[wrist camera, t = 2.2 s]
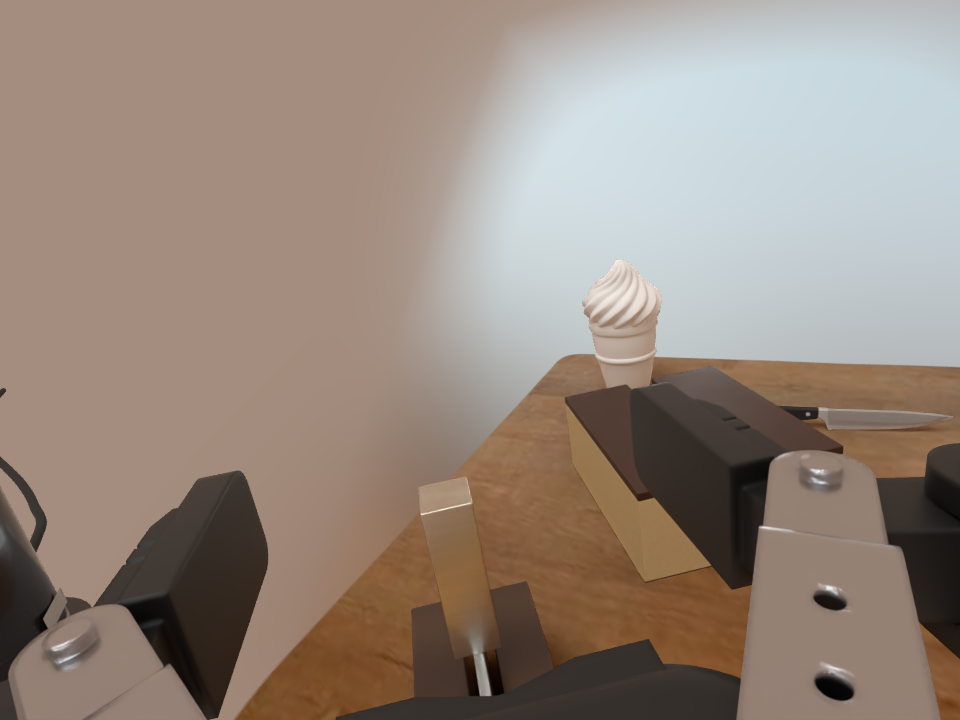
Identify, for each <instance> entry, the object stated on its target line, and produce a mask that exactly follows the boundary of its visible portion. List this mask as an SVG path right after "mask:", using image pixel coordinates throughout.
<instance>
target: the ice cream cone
mask: <svg viewBox="0 0 960 720" xmlns="http://www.w3.org/2000/svg"><path fill="white" fill-rule="evenodd" d="M582 304H583V306H584V307H585V309H584V314H585V315H586V316H587V317H589V328H590V330H591V332H592V335H593V341H594V346H595V350H596V351H595V356H596V358H597V359H598V361H599V364H600V368H601V371H602V374H603V377H604V380H605V383H606V387H607V388H611V387H616V386H621V385H625V384H627V385H628V386H629V387H630V388H631V389H634V388H639V387H644V386H649V385H650V381H651V374H652V367H653V361H654V355H655V354H656V347H655V339H656V325H657V323H658V321H657V316H658V314H659V312H660V308H661V304H662V297H661V294H660V293H659V291H658V290H657V289H656V288H655V287H654V286H653V285H652V284H650V283H648V282H647V281H646V280H644V279H642V277H641V276H640V275H639V273H638V272H637V271H636V270H635V269H634V268H633V267H632V266H631V265H630V264H629V263H628V262H626V261H624V260H619V259H617V260H616V261H615V263H614V265H613V266H612V268H611V270H610V271H609V273H608V274H607V275H606V276H604V277H602V278H601V279H600V280H599V281H597V282H596V283H595V285H594V286H593V287H592V288H591V289H590V290H589V291H588V296H587V297H586V298H585V299H584V300H583V303H582Z"/></svg>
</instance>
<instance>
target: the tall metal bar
mask: <svg viewBox="0 0 960 720" xmlns="http://www.w3.org/2000/svg"><path fill="white" fill-rule="evenodd" d="M418 489H419V502H420V515H421V520H422V524H423V528H424V532H425V536H426V540H427V545H428V549H429V553H430V557H431V561H432V565H433V570H434V574H435V578H436V582H437V586H438V590H439V595H440V599H441V603H442V607H443V611H444V615H445V620H446V624H447V628H448V632H449V636H450V640H451V645H452V649H453V653H454V657H455V659H459V658H463V657H467V656H471V655H473V657H474V663H475V669H476V675H477V682H478V688H479V694H480V696H495V695H494V690H493V685H492V680H491V675H490V669H489V664H488V659H487V654H486V652H487V651H491V650H495V649H499V648H501V642H500V637H499V632H498V627H497V622H496V617H495V612H494V607H493V602H492V597H491V592H490V587H489V582H488V577H487V572H486V567H485V562H484V557H483V552H482V547H481V542H480V537H479V532H478V527H477V522H476V517H475V512H474V507H473V502H472V498H471V494H470V490H469V485H468V481H467V477H461V478H456V479H452V480H447V481H443V482H438V483H434V484H429V485H425V486H420V487H419V488H418Z"/></svg>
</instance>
